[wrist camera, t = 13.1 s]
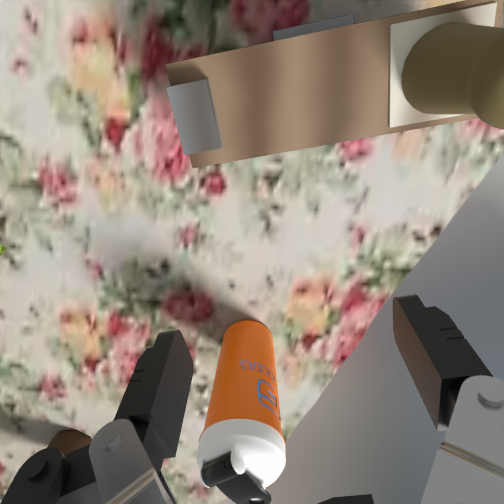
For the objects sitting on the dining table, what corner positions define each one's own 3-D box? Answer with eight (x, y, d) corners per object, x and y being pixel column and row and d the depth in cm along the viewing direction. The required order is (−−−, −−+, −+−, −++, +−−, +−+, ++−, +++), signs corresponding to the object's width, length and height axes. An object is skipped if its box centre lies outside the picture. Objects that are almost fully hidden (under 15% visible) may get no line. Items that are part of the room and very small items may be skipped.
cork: (425, 10, 24) (537, -24, 14) (504, 35, 24) (663, 19, 15) (387, 103, 26) (458, 127, 17) (458, 123, 27) (566, 157, 17)
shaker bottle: (250, 369, 52) (243, 525, 35) (204, 339, 49) (171, 491, 32) (292, 337, 49) (308, 492, 31) (245, 303, 46) (233, 451, 29)
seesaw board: (195, 163, 31) (189, 173, 28) (169, 64, 27) (159, 64, 24) (476, 113, 28) (498, 119, 26) (491, -5, 24) (519, -12, 22)
